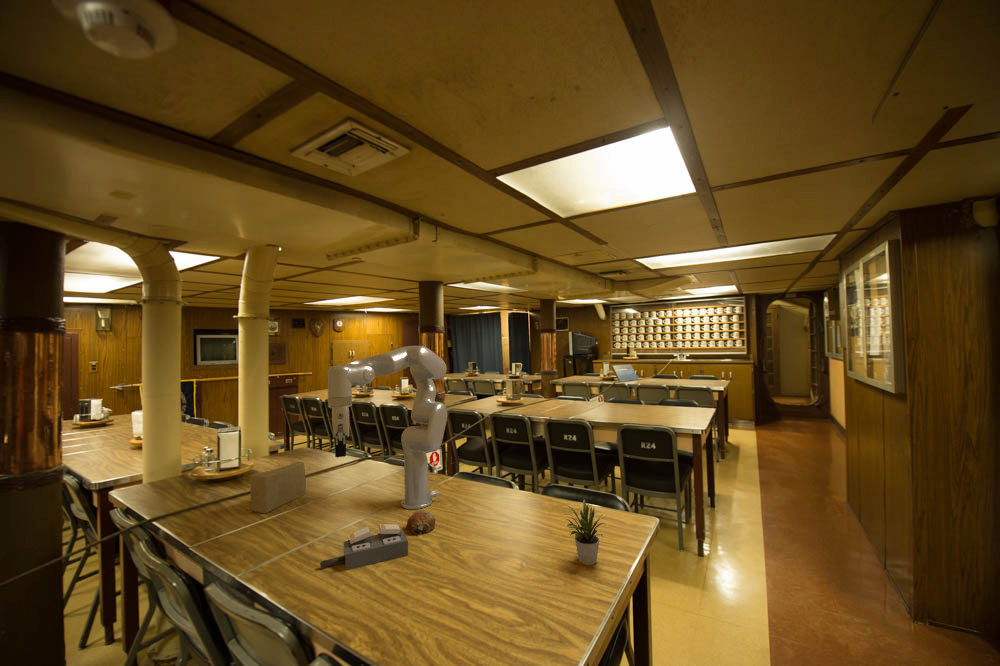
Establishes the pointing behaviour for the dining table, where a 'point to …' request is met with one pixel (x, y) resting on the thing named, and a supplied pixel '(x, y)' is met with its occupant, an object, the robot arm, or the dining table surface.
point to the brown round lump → (420, 522)
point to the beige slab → (277, 487)
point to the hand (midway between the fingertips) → (340, 453)
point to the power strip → (371, 550)
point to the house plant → (586, 535)
